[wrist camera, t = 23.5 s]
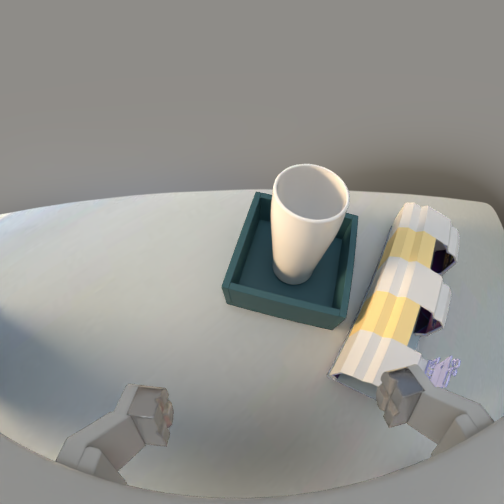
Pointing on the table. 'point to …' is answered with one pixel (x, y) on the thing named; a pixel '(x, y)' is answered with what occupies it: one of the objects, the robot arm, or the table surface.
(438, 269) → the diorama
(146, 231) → the table surface
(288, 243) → the drinking glass
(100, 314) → the table surface
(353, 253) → the bin
